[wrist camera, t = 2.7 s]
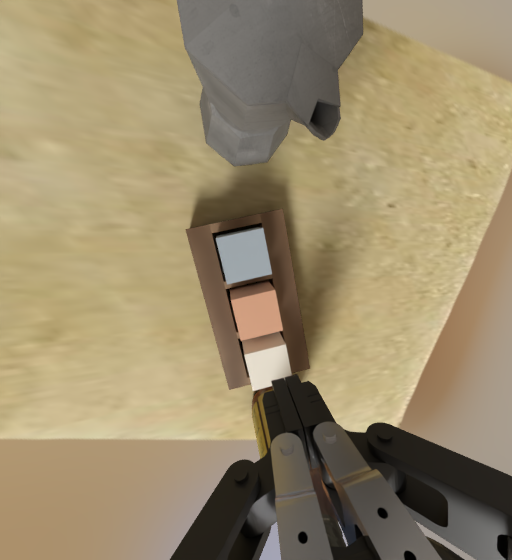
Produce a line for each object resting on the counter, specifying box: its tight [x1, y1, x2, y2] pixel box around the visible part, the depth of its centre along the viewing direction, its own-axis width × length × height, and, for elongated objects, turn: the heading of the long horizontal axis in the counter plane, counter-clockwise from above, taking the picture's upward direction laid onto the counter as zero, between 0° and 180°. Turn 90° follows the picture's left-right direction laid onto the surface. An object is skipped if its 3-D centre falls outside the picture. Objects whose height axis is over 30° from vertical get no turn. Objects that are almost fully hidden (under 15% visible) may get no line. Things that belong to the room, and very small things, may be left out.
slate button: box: [216, 227, 272, 284], centre depth 25 cm, size 4×4×4 cm
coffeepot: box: [177, 0, 363, 166], centre depth 17 cm, size 15×9×18 cm, turn 30°
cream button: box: [242, 332, 292, 391], centre depth 28 cm, size 4×4×4 cm
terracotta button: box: [230, 280, 283, 341], centre depth 26 cm, size 4×4×4 cm
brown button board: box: [186, 209, 310, 390], centre depth 29 cm, size 10×19×3 cm, turn 11°
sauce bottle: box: [252, 386, 346, 547], centre depth 25 cm, size 7×6×20 cm
